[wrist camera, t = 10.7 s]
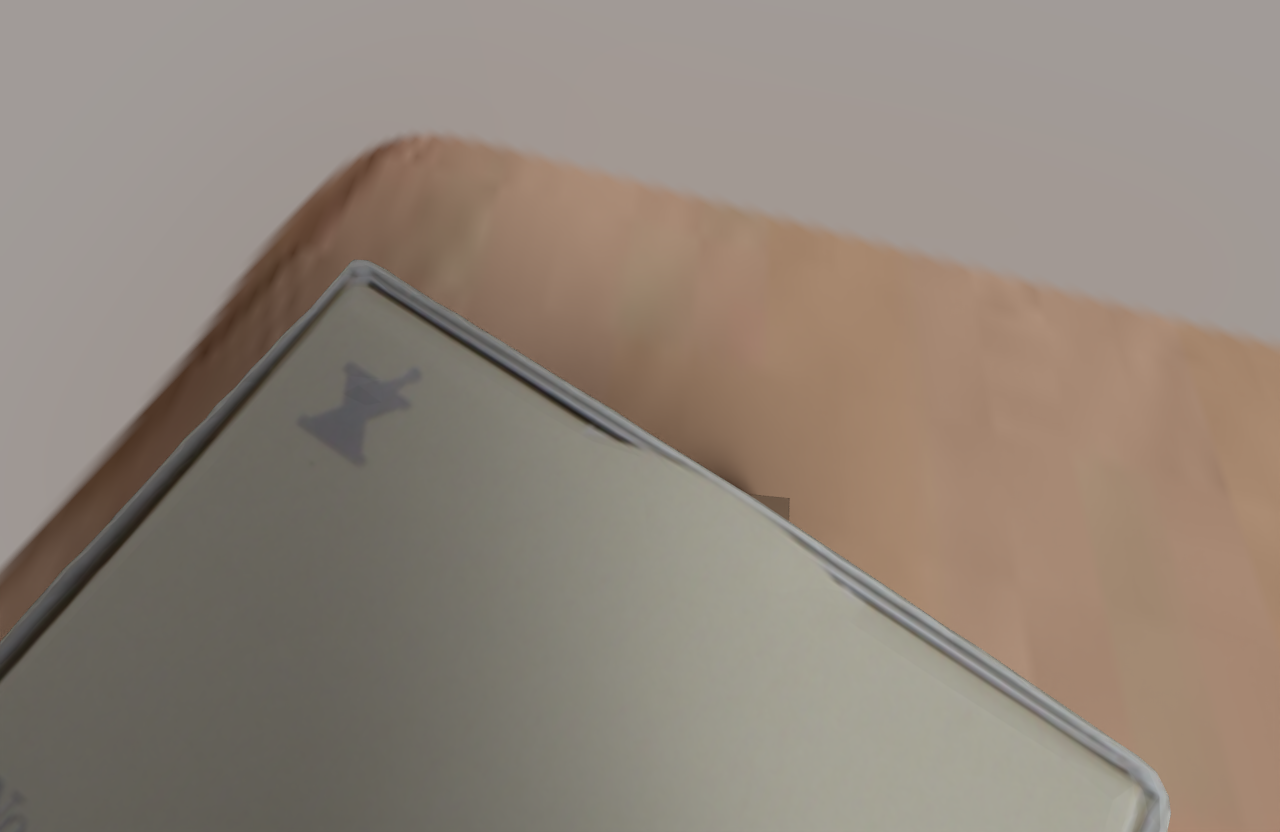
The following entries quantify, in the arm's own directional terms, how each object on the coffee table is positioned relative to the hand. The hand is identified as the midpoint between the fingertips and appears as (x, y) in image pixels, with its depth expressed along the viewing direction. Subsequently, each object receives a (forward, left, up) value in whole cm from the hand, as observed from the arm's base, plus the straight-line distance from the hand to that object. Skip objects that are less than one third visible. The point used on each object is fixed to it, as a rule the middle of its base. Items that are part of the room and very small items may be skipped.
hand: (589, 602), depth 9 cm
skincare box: (-1, 0, -7) cm, 7 cm away
